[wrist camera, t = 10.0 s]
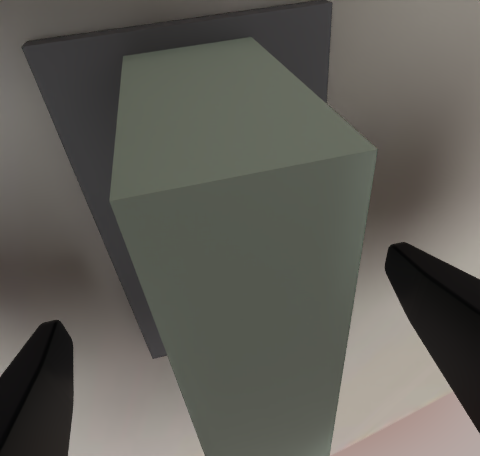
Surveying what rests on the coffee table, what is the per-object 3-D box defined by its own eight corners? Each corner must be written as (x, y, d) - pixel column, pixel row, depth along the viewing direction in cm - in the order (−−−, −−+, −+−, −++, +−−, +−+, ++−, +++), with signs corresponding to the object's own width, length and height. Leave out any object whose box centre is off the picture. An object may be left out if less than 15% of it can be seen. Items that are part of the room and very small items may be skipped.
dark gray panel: (324, -1, 9) (332, 2, 9) (309, 310, 17) (313, 320, 16) (26, 41, 8) (21, 46, 8) (152, 348, 16) (152, 358, 16)
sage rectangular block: (267, 291, 15) (329, 457, 10) (190, 308, 14) (217, 489, 10) (251, 36, 9) (376, 149, 4) (123, 56, 9) (109, 201, 4)
